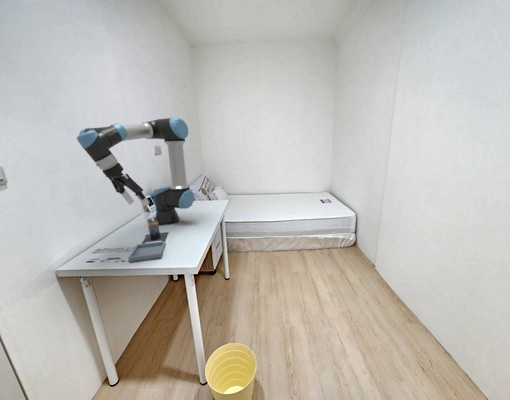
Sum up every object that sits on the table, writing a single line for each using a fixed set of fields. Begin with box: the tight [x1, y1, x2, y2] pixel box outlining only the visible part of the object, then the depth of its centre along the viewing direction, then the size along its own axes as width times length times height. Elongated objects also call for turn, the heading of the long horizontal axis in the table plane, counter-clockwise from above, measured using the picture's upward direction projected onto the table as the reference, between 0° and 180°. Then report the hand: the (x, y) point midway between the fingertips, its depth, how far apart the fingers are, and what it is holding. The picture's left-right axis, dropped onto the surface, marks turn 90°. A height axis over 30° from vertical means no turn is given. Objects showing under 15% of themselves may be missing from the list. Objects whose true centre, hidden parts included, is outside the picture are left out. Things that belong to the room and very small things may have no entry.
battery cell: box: [147, 217, 161, 240], centre depth 126 cm, size 5×5×12 cm
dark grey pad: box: [141, 231, 170, 244], centre depth 128 cm, size 14×12×1 cm
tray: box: [128, 241, 167, 263], centre depth 112 cm, size 14×14×2 cm
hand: (139, 203), depth 112 cm, fingers open, 13 cm apart
